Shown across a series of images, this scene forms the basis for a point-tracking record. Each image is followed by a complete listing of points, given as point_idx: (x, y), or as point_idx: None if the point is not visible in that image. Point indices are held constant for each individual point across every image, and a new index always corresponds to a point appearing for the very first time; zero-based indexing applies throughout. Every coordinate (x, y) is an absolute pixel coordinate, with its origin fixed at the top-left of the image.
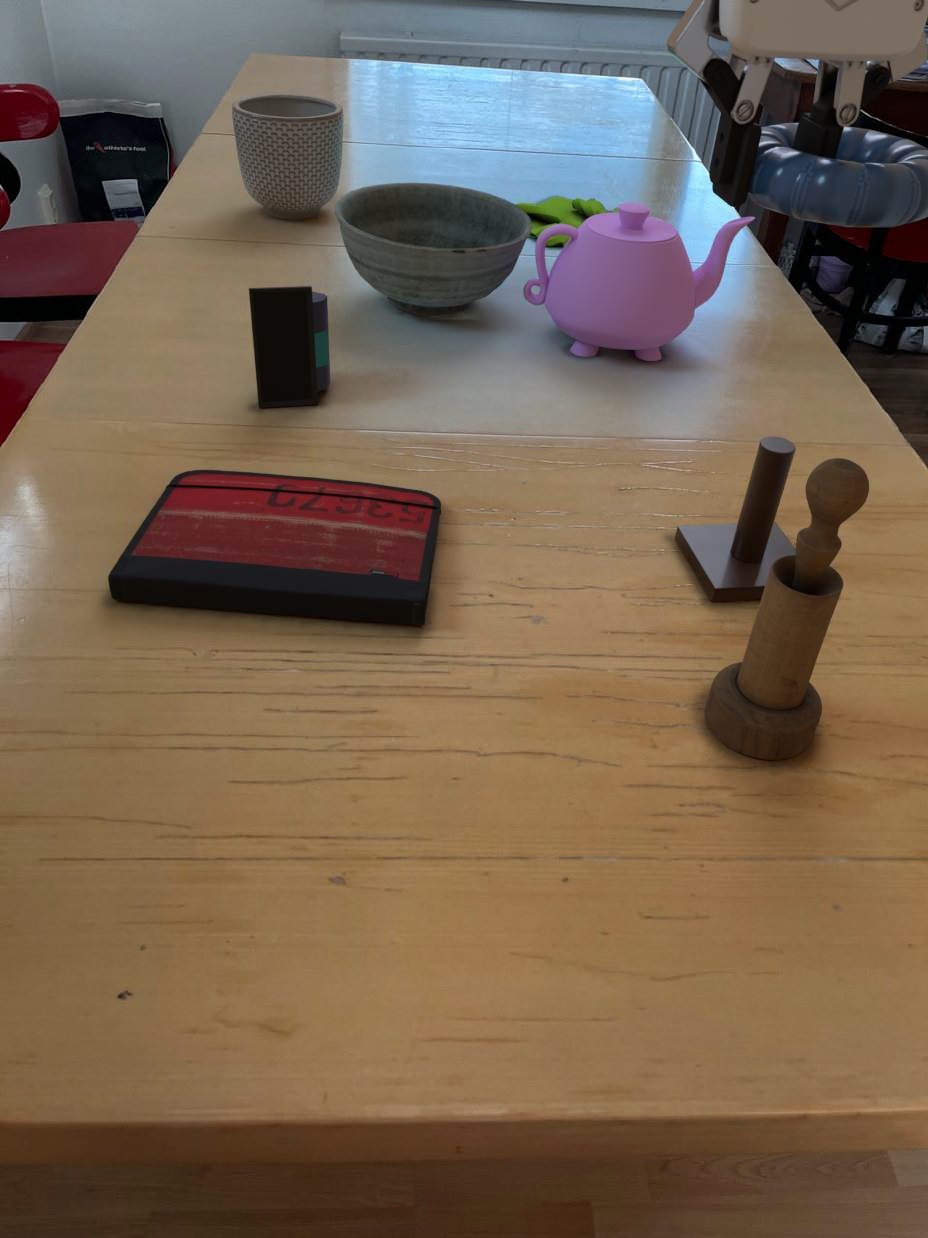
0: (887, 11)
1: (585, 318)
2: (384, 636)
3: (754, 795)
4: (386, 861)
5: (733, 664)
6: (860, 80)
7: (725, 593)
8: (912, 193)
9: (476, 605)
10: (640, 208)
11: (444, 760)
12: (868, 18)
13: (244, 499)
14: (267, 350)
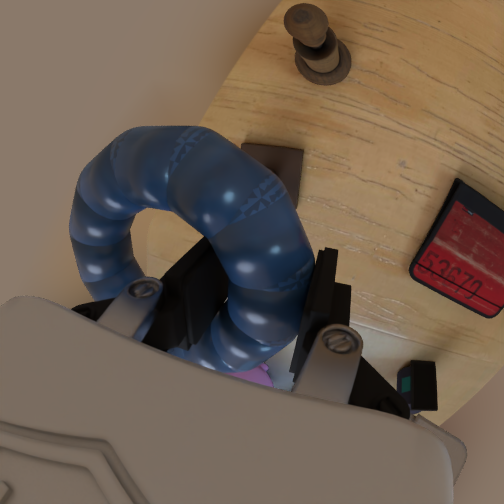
0: (7, 363)
1: (262, 377)
2: (471, 178)
3: (346, 26)
4: (496, 59)
5: (329, 81)
6: (107, 316)
7: (296, 149)
8: (129, 130)
9: (426, 185)
10: None
11: (470, 92)
12: (41, 375)
13: (487, 290)
14: (431, 384)
